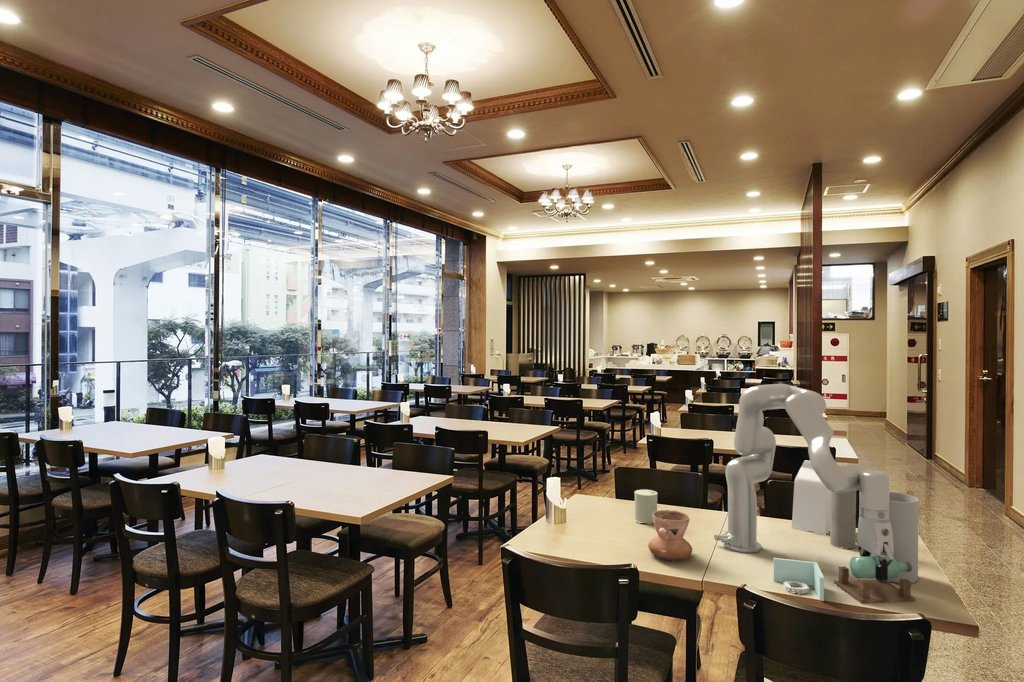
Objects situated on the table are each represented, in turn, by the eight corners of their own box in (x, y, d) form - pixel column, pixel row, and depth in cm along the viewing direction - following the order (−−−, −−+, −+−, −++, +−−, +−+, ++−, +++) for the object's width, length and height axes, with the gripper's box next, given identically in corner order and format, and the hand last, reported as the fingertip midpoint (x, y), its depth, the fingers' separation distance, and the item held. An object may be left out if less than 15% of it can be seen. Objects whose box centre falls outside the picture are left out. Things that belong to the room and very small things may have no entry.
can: (659, 524, 239) (660, 494, 239) (636, 524, 239) (636, 494, 239) (654, 517, 248) (654, 488, 248) (632, 517, 249) (632, 488, 248)
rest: (861, 603, 170) (861, 583, 170) (833, 583, 183) (834, 565, 183) (915, 601, 171) (916, 582, 170) (884, 582, 184) (885, 564, 183)
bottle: (862, 582, 173) (862, 561, 173) (849, 573, 179) (849, 553, 179) (915, 580, 174) (916, 560, 174) (901, 572, 180) (901, 552, 180)
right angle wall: (773, 582, 185) (773, 557, 185) (816, 587, 182) (816, 562, 182) (777, 598, 174) (777, 572, 174) (823, 604, 170) (824, 577, 170)
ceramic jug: (682, 568, 194) (683, 524, 194) (639, 558, 202) (640, 516, 202) (700, 553, 209) (701, 512, 209) (659, 544, 217) (660, 505, 217)
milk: (791, 528, 235) (792, 461, 235) (800, 521, 244) (800, 457, 243) (825, 534, 227) (826, 466, 227) (833, 527, 236) (833, 461, 235)
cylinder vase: (874, 581, 185) (875, 499, 184) (867, 566, 196) (867, 489, 196) (922, 587, 180) (923, 504, 180) (911, 571, 192) (912, 493, 192)
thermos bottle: (851, 541, 219) (851, 465, 219) (859, 549, 212) (859, 470, 211) (827, 540, 221) (828, 464, 221) (834, 547, 213) (835, 469, 213)
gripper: (907, 522, 168) (907, 587, 168) (867, 505, 185) (867, 563, 185) (881, 523, 167) (881, 587, 168) (843, 505, 185) (843, 564, 185)
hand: (873, 574), depth 176 cm, fingers closed on bottle, 6 cm apart
